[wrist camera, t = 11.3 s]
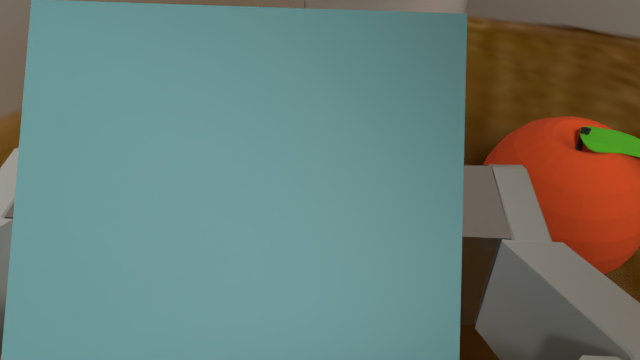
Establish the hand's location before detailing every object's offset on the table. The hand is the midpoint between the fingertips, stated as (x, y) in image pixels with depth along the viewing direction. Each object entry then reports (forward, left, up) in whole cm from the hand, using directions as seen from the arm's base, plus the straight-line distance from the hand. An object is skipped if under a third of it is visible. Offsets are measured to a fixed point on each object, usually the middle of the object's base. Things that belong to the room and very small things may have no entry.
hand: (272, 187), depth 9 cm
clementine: (+13, +9, -14) cm, 21 cm away
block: (+1, +3, -4) cm, 5 cm away
